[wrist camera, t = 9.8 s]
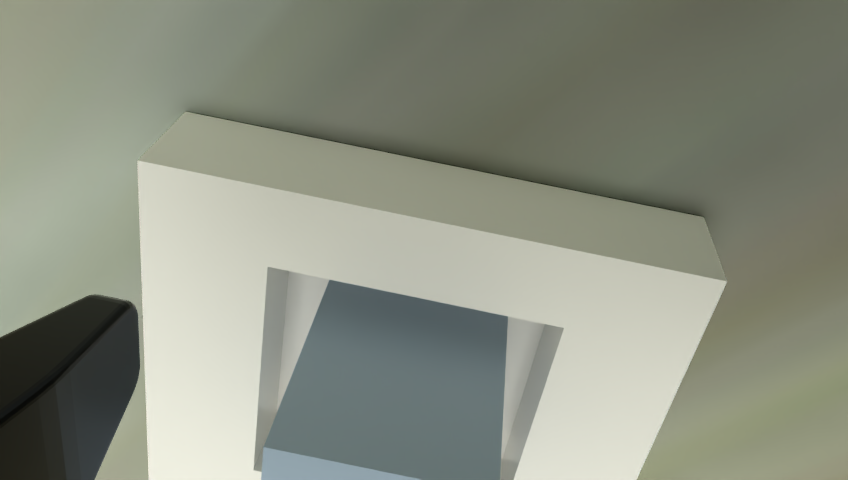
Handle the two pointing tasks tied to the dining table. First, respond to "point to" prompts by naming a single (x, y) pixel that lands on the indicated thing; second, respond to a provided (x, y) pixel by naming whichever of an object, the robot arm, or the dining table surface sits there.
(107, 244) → the dining table surface
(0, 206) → the dining table surface
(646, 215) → the well
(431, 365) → the block
